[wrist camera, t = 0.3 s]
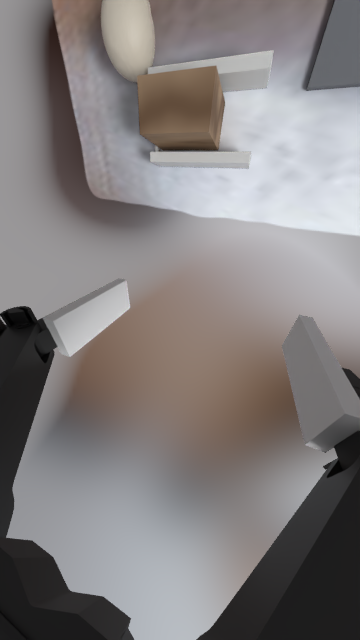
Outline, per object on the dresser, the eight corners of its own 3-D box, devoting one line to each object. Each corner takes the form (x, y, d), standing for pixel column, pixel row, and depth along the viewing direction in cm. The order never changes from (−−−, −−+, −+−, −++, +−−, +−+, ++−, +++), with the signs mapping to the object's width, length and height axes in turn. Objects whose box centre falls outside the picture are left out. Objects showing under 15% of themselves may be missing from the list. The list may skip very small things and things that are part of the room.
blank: (163, 107, 27) (137, 75, 21) (225, 102, 24) (216, 65, 18) (163, 150, 30) (140, 134, 23) (218, 150, 27) (208, 131, 21)
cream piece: (171, 22, 22) (146, -37, 17) (153, 101, 27) (129, 75, 22) (129, -6, 22) (92, -73, 17) (118, 78, 27) (86, 46, 22)
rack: (156, 85, 26) (143, 68, 23) (270, 73, 22) (273, 50, 19) (157, 166, 31) (146, 161, 28) (248, 168, 27) (248, 163, 24)
